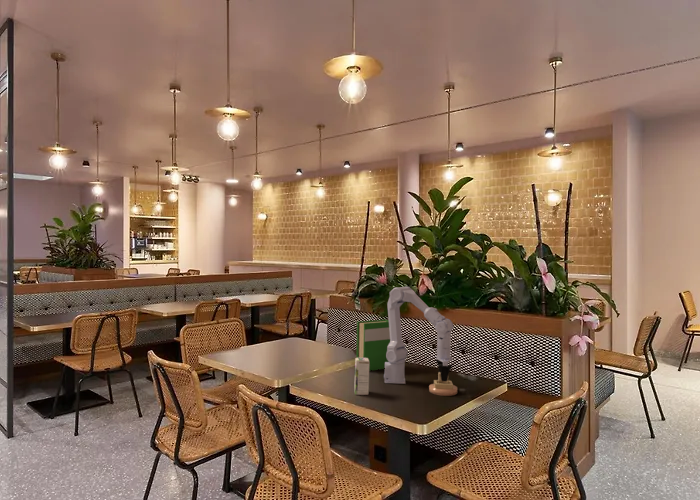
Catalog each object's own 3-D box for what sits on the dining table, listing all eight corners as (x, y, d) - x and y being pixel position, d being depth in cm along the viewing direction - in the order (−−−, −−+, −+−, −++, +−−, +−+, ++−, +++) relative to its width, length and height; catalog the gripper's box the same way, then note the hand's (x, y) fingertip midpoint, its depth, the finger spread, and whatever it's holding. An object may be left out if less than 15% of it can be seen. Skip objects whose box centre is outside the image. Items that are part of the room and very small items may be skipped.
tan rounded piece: (430, 395, 201) (430, 385, 201) (428, 387, 212) (428, 378, 212) (459, 396, 199) (459, 386, 199) (455, 388, 211) (455, 379, 211)
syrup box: (353, 391, 205) (354, 357, 205) (367, 390, 205) (368, 357, 205) (355, 395, 199) (355, 360, 199) (369, 395, 199) (369, 360, 199)
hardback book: (364, 371, 238) (364, 323, 238) (356, 368, 244) (357, 321, 244) (392, 367, 247) (393, 321, 247) (384, 364, 253) (385, 319, 253)
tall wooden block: (438, 387, 205) (438, 373, 205) (438, 385, 207) (438, 372, 207) (448, 387, 205) (448, 374, 205) (447, 386, 207) (447, 372, 207)
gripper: (455, 351, 198) (454, 383, 198) (451, 344, 213) (450, 374, 213) (438, 350, 199) (437, 383, 199) (435, 343, 213) (434, 374, 213)
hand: (443, 378), depth 206 cm, fingers open, 7 cm apart
